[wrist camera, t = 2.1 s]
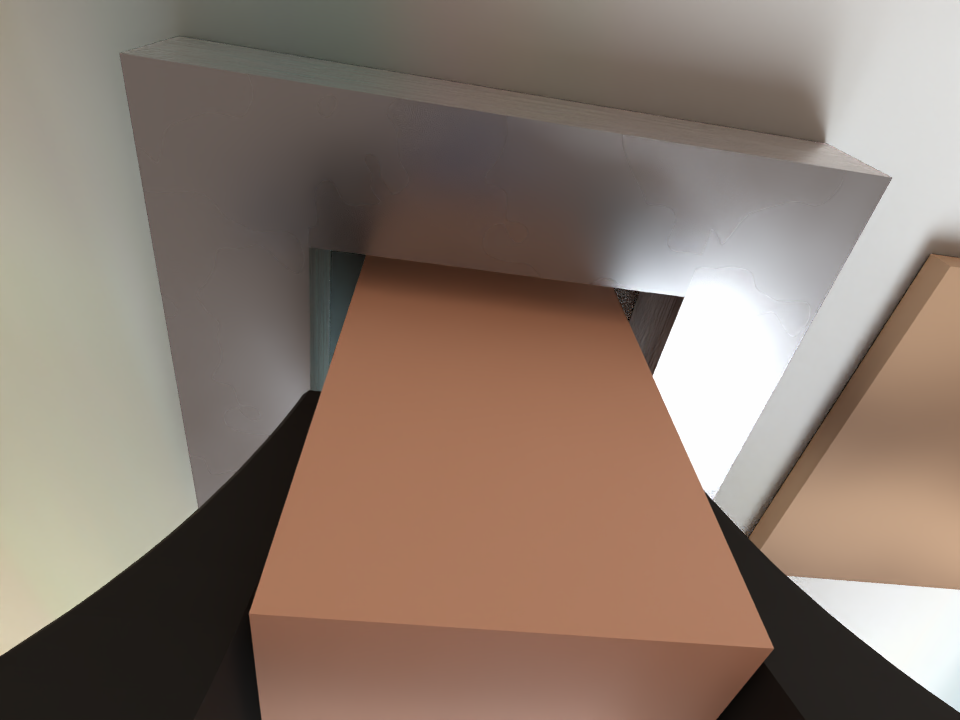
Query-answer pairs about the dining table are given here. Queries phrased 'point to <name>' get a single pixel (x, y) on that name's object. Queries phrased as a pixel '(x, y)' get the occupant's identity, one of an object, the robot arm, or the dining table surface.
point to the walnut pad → (884, 457)
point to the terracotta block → (496, 521)
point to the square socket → (468, 227)
